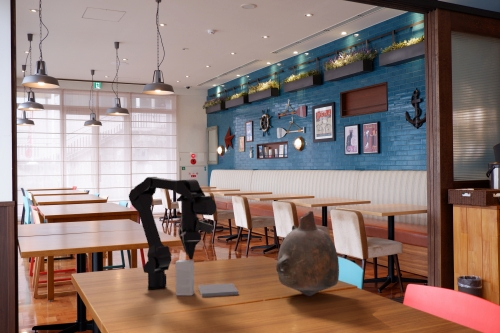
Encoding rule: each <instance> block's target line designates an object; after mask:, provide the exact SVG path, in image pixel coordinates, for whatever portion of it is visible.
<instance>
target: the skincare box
mask: <svg viewBox="0 0 500 333" xmlns="http://www.w3.org/2000/svg"><path fill="white" fill-rule="evenodd" d="M174 263H175V264H174V265H175V266H174V267H175V269H174V270H175V296H193V295H194V294H195V265H194V264H195V260H194V259H179V260H176V261H175V262H174Z"/></svg>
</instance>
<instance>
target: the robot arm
mask: <svg viewBox="0 0 500 333" xmlns="http://www.w3.org/2000/svg"><path fill="white" fill-rule="evenodd" d="M157 189H160V190H168V191H173V192H175V193H176V194H178V195H180V196H179V197H178V198H177V199H176V202H180V203H181V204H180V205H181V206H180V210H181V212H180V213H181V215H180V221H181V224H180V225H181V226H180V227H179V228H178V236H179V239H180V241H181V244H182V246H183V249H184V252H185V255H186V256H187V257H188V260H194V254H195V250H196V246H197V245H198V244H199V243H200V242H201V241H202V234H201V233H200V232H201V231H202V232H205V233H207V234H208V235H211V233H212V231H213V228H214V226H213V224H210V223H209V220H207V219H203V220H200V218H199V217H198V215H199V216H213V215H214V214H216V210H217V204H216V201H215V200H214V199H213V196H212V195H206V194H205V192H204V191H203V189H202V187H201V185H200V183H199V180H197V179H180V180H179V179H177V180H176V179H169V178H163V177H157V176H147V177H146V178H145V179H144V180H143V181H141V182H140V183H138V184H137V185H135V186H134V188H132V189H131V190H130V192H129V194H128V198H129V199H128V200H129V202H130V204H131V206H132V207H133V209H135V211H137V214H138V216H139V220H140V223H141V225H142V228H143V232H144V236H145V238H146V242H147V245H148V250H147V261H146V263H145V264H144V265H143V266H142V269H143V272H144V273H145V274H147V290H162V289H163V290H164V289H166V287H167V274H166V273H165V272H166V271H168V270H169V268H170V264H171V262H172V256H173V254H172V253H171V250H170V246H169V245H164V244H163V242H162V240H161V237H160V232H159V230H158V228H157V224H156V220H155V217H154V214H153V211H152V204H153V196H154V195H155V194H156V191H157Z"/></svg>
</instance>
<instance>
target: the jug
mask: <svg viewBox="0 0 500 333" xmlns="http://www.w3.org/2000/svg"><path fill="white" fill-rule="evenodd" d="M314 215H315V214H314V211H312V210H309V211H308V212H306V213H305V214H304V215H302V216H301V217H300V218H299V224H298V226H297V225H295V224H293V225H292V227H291V230H290V231H289V232H288V234H286V236H284V239H283V241H282V242H281V243H280V247H279V251H278V257H277V262H276V268H275V269H276V271H277V276H278V280H279V282H280V284H281V285H282V286H285V287H287V288H290V289H293V290H295V291H298V292H300V293H301V294H303V295H305V296H307V297H311V296H314V295H315V294H317V293H319V292H322V291H324V290H327V289H330V288H332V287H334V286H336V285H337V284H338V282H339V278H340V263H339V257H338V252H337V249H336V246H335V243H334V241H333V239H332V238H331V236H330V235H329V234H328V233H327V232H326V231H324V230H323V229H320V228H318V227H317V226H316V223H315V222H316V220H315V217H314Z"/></svg>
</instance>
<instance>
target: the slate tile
mask: <svg viewBox="0 0 500 333" xmlns="http://www.w3.org/2000/svg"><path fill="white" fill-rule="evenodd" d="M198 291H199V293H200V296H201V297H202V298H209V297H210V298H211V297H222V296H223V297H225V296H238V295H239V290H238V288H236V285H235V284H234V283H232V282H230V283H213V284H198Z"/></svg>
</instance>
